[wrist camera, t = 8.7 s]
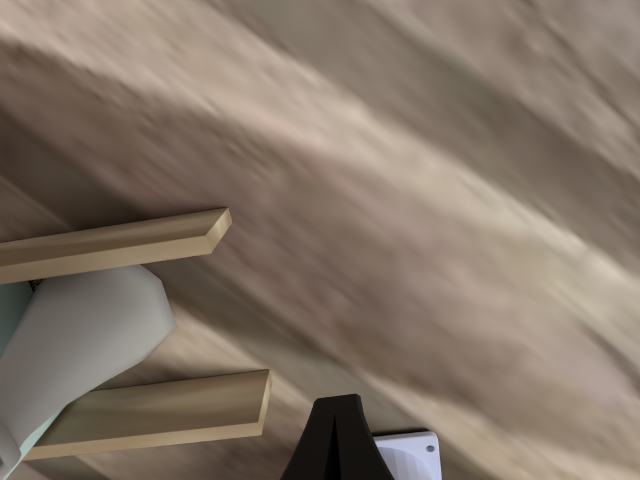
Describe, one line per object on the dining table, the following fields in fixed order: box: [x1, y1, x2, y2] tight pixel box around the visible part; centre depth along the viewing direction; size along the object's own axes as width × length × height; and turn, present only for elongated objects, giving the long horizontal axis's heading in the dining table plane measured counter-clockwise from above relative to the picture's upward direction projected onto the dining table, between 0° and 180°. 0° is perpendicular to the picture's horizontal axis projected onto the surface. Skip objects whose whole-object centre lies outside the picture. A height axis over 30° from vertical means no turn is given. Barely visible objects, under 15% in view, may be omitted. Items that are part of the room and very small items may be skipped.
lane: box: [0, 208, 272, 461], centre depth 21 cm, size 11×17×5 cm, turn 100°
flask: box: [0, 264, 177, 480], centre depth 19 cm, size 7×7×10 cm
